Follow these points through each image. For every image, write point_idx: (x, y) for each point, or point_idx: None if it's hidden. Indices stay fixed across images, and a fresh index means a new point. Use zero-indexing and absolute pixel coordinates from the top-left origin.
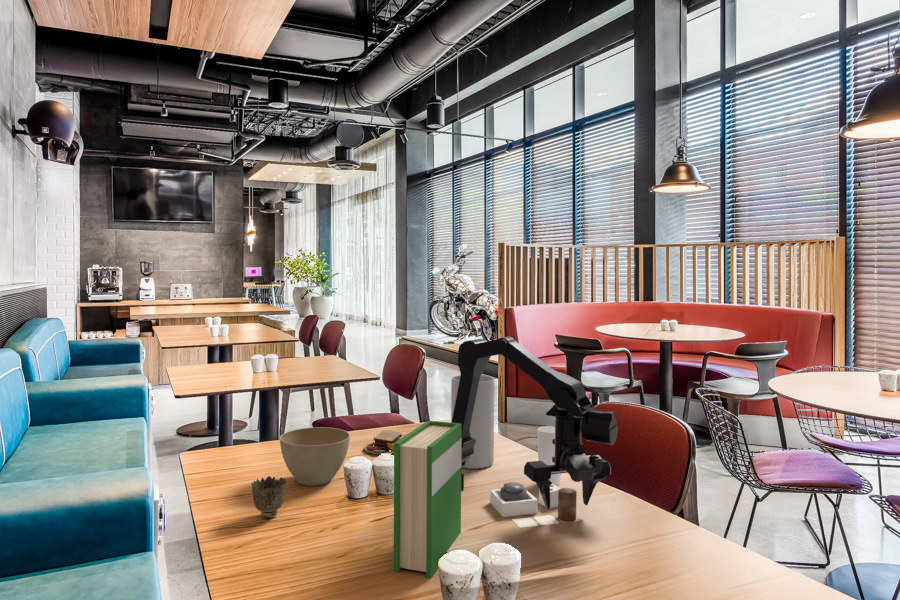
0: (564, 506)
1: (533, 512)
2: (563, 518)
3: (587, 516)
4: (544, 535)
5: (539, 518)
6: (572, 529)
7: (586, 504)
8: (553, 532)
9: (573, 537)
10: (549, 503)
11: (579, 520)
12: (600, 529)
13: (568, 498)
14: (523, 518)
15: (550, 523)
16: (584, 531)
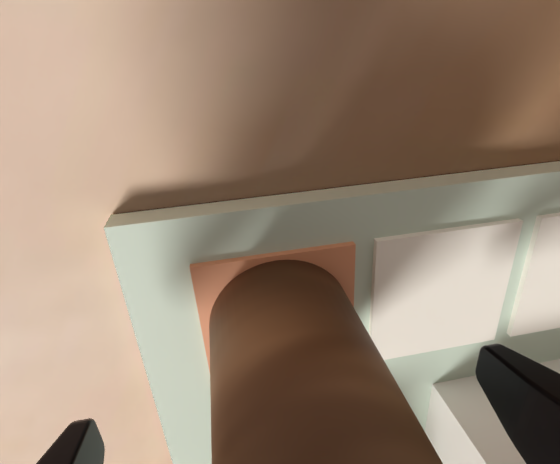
0: (371, 356)
1: (464, 388)
2: (336, 286)
3: (85, 376)
4: (529, 119)
5: (468, 319)
6: (282, 188)
7: (82, 425)
8: (443, 158)
9: (341, 36)
10: (537, 380)
11: (197, 272)
12: (30, 156)
13: (376, 433)
14: (558, 323)
15: (446, 241)
16: (197, 138)
